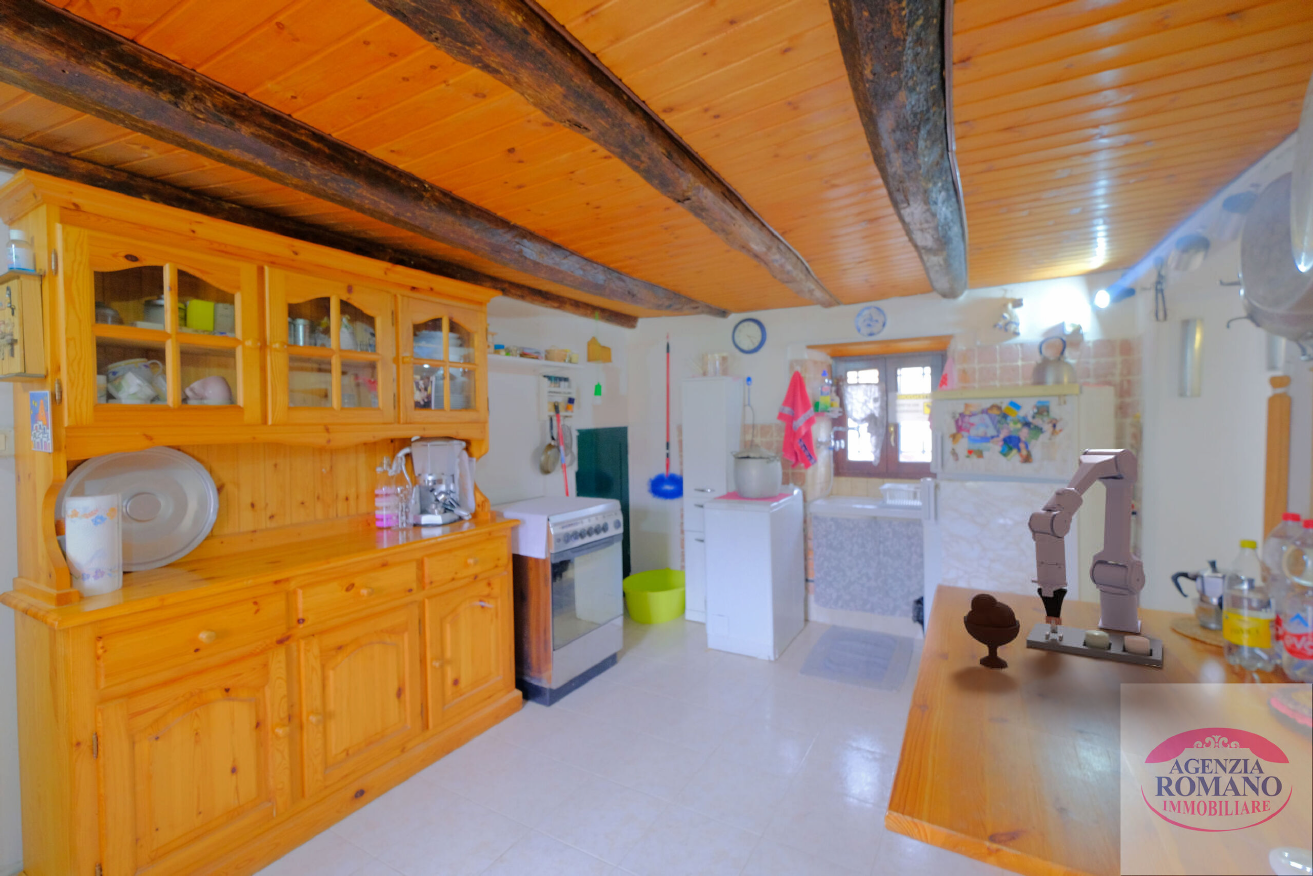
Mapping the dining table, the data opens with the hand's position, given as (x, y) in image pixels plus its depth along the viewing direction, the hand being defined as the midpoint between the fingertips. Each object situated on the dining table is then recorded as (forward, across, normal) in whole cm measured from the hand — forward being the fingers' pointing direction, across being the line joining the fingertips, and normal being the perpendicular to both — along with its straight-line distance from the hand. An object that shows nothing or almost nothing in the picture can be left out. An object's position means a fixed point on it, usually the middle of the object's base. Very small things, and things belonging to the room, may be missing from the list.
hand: (1053, 620), depth 138 cm
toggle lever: (+3, +1, 0) cm, 4 cm away
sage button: (+4, +1, +8) cm, 9 cm away
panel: (+5, -2, +7) cm, 9 cm away
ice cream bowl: (+6, +20, -9) cm, 23 cm away
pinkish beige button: (+4, +1, +15) cm, 16 cm away
